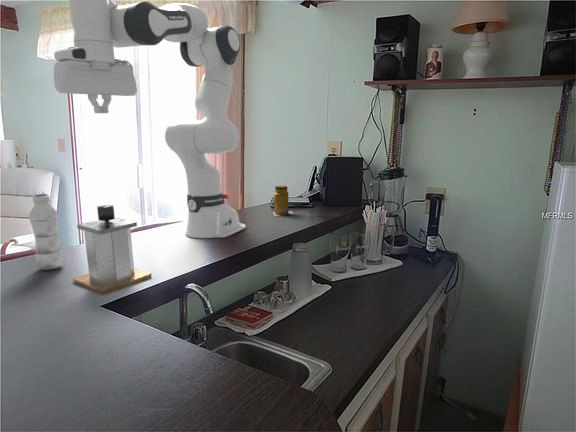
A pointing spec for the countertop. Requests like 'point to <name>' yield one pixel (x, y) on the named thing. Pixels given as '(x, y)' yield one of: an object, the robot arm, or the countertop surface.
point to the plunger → (106, 213)
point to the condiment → (281, 201)
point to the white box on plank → (109, 256)
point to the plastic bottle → (46, 233)
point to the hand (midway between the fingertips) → (101, 113)
